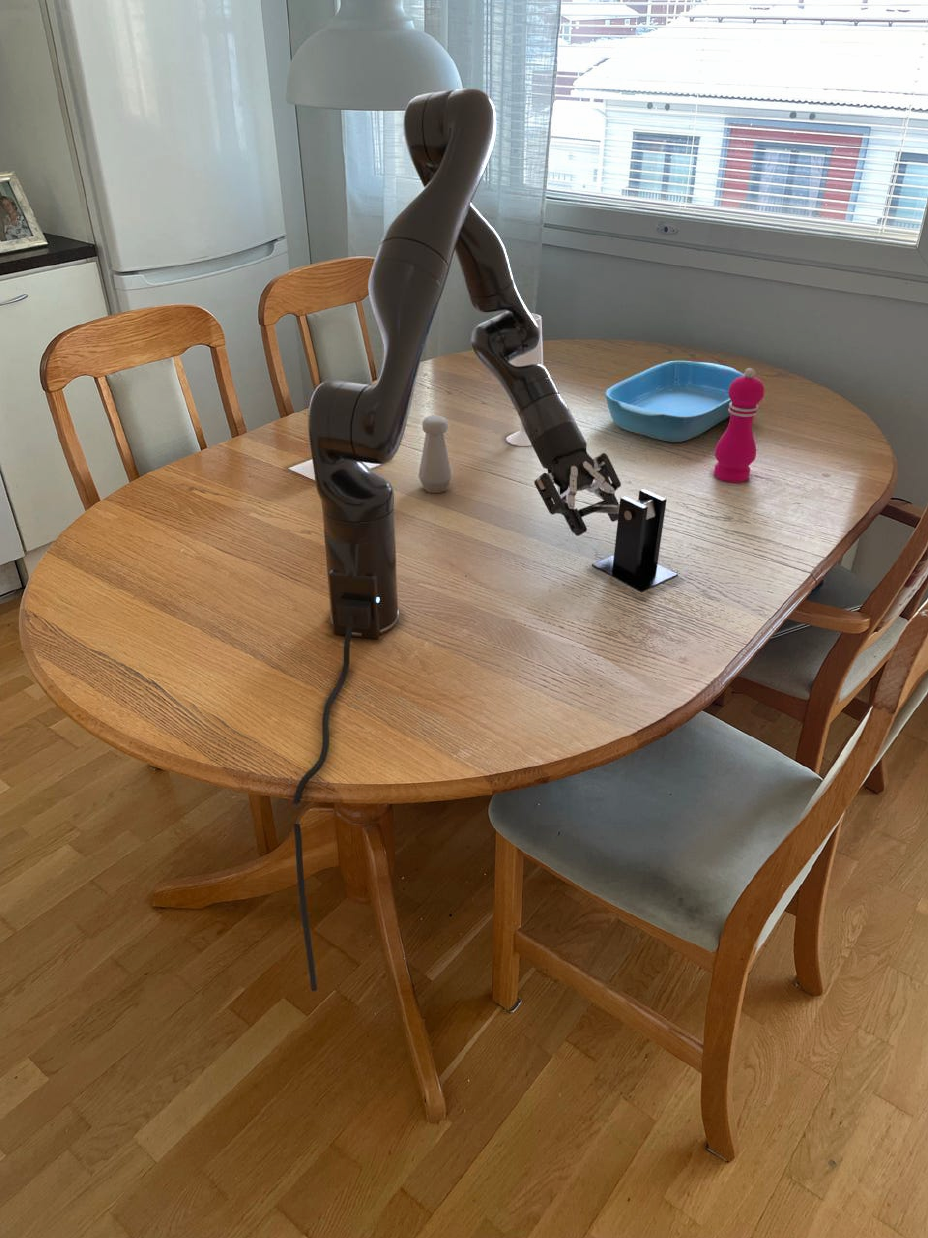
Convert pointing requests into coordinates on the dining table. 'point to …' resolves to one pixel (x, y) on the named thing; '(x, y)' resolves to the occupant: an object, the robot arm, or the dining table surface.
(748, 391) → the pepper mill
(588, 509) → the lever with crossbar handle
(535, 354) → the champagne flute
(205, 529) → the dining table surface
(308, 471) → the napkin holder
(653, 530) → the black lever stand
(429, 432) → the salt shaker
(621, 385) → the casserole dish
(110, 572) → the dining table surface
